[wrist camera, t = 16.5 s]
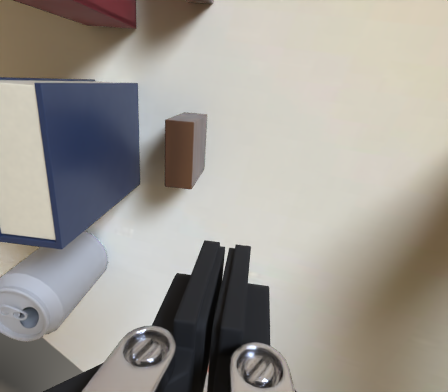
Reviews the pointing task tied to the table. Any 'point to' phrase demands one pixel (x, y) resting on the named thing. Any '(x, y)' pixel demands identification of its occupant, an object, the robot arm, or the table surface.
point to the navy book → (64, 156)
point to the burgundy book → (91, 11)
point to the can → (49, 287)
